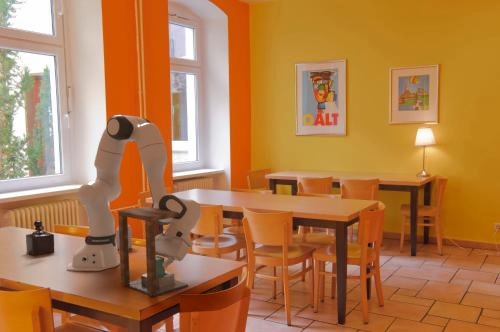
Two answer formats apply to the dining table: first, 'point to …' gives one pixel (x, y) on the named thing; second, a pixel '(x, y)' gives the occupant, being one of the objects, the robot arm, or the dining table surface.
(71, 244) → the dining table surface
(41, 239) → the black block with knob
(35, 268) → the dining table surface
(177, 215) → the open wooden frame
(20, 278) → the dining table surface
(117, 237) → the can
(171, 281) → the socket
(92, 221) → the robot arm
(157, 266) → the post
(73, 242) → the dining table surface
